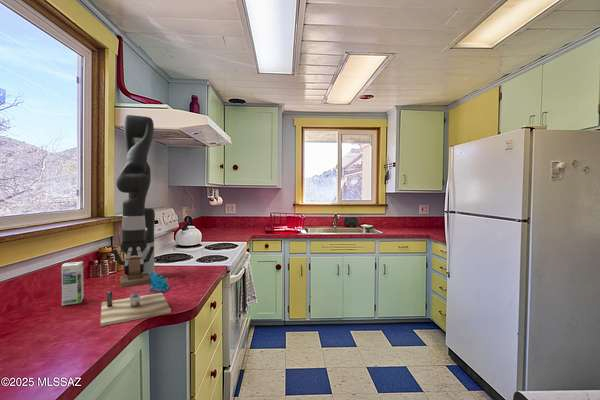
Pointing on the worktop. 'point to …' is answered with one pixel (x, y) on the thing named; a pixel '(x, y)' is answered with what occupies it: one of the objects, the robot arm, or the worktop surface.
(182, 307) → the worktop surface
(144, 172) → the robot arm
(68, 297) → the syrup box
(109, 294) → the stop pin
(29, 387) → the worktop surface
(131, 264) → the wooden display stand
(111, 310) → the board
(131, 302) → the post
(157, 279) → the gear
